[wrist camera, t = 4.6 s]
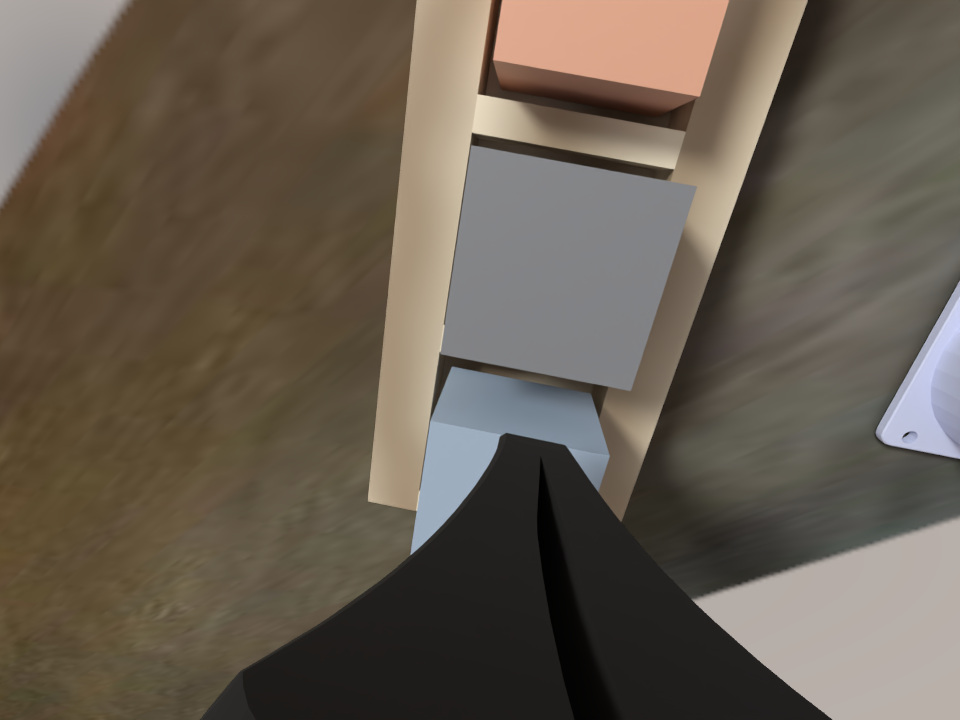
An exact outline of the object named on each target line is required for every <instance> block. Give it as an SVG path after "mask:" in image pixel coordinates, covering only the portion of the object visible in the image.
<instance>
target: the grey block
mask: <svg viewBox="0 0 960 720" xmlns="http://www.w3.org/2000/svg"><path fill="white" fill-rule="evenodd" d="M696 189H697V186H692V185H687V184H681V183H676V182H670V181H665V180H659V179H654V178H648V177H643V176H637V175H632V174H626V173H621V172H615V171H610V170H604V169H599V168H593V167H588V166H582V165H577V164H572V163H566V162H561V161H555V160H550V159H544V158H539V157H533V156H528V155H522V154H517V153H511V152H506V151H500V150H495V149H489V148H484V147H478V146H473V145H471V151H470V157H469V164H468V171H467V178H466V184H465V191H464V198H463V205H462V211H461V218H460V225H459V232H458V238H457V245H456V252H455V259H454V265H453V272H452V279H451V286H450V292H449V299H448V306H447V312H446V319H445V326H444V333H443V339H442V346H441V353H440V354H442V355H447V356H452V357H458V358H463V359H468V360H473V361H478V362H483V363H489V364H494V365H499V366H504V367H509V368H514V369H520V370H525V371H530V372H535V373H540V374H545V375H551V376H556V377H561V378H566V379H571V380H576V381H582V382H587V383H592V384H597V385H602V386H607V387H613V388H618V389H623V390H628V391H631V389H632V386H633V383H634V380H635V377H636V374H637V371H638V368H639V365H640V362H641V358H642V355H643V352H644V349H645V346H646V343H647V340H648V337H649V334H650V331H651V328H652V325H653V321H654V318H655V315H656V312H657V309H658V306H659V303H660V300H661V297H662V294H663V291H664V287H665V284H666V281H667V278H668V275H669V272H670V269H671V266H672V263H673V260H674V257H675V254H676V250H677V247H678V244H679V241H680V238H681V235H682V232H683V229H684V226H685V223H686V220H687V216H688V213H689V210H690V207H691V204H692V201H693V198H694V195H695V192H696Z"/></svg>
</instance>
